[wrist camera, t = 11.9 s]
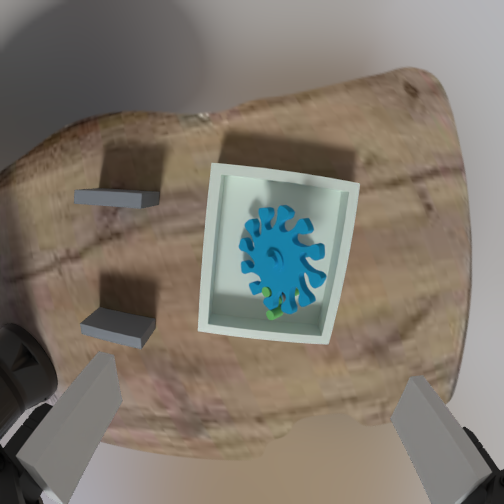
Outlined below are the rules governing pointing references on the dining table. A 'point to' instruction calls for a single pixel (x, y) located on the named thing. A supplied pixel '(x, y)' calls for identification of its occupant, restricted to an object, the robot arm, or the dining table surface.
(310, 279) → the gear
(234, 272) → the parts tray
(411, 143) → the dining table surface
